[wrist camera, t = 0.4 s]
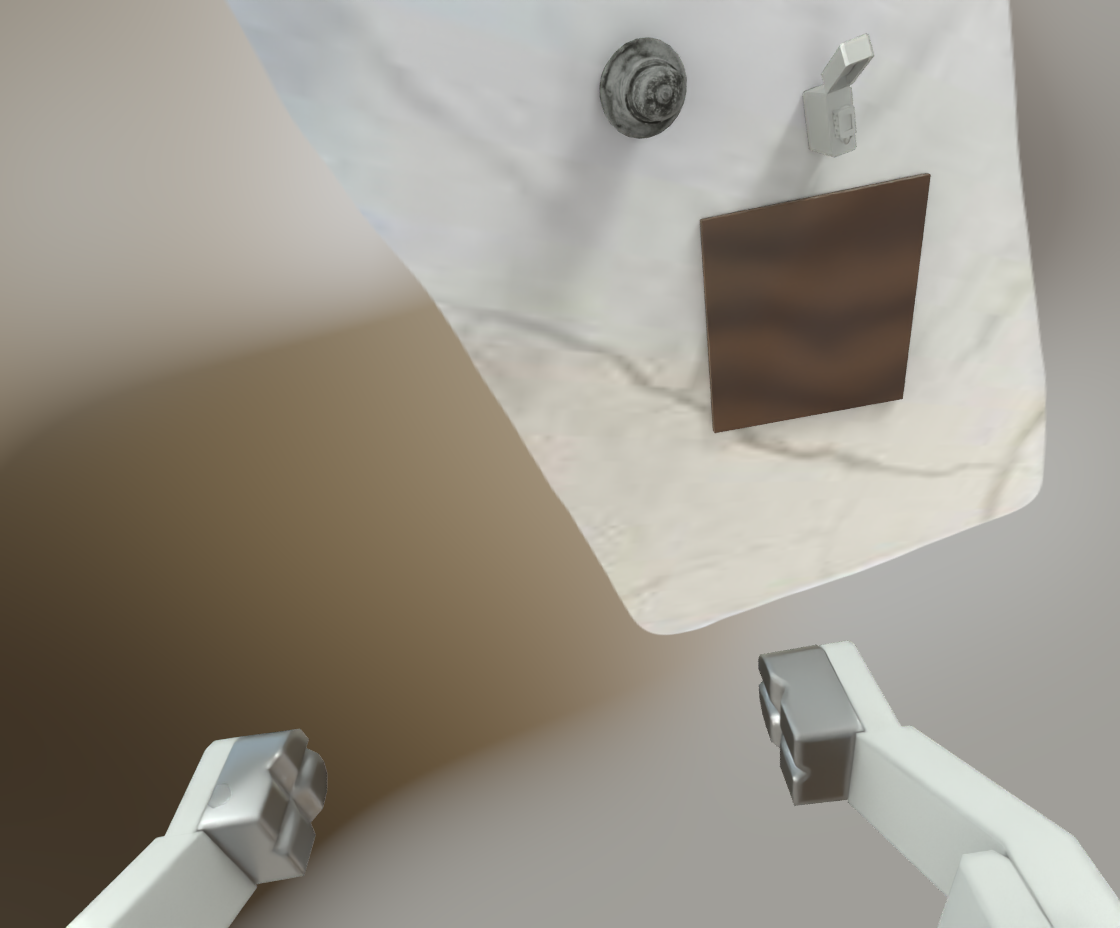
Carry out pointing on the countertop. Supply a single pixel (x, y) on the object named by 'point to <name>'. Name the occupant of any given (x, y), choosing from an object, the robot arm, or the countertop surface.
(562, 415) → the countertop surface
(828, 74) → the lighter
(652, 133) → the tarnished pewter finial
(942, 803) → the robot arm
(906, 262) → the walnut board
